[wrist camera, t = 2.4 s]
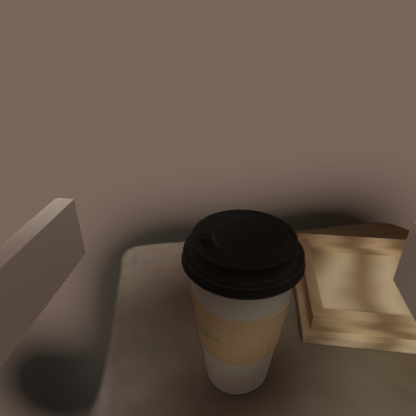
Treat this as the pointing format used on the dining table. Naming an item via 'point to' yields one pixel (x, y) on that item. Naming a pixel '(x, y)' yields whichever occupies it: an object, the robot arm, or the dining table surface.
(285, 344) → the dining table surface
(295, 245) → the coffee cup
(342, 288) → the wooden tray
